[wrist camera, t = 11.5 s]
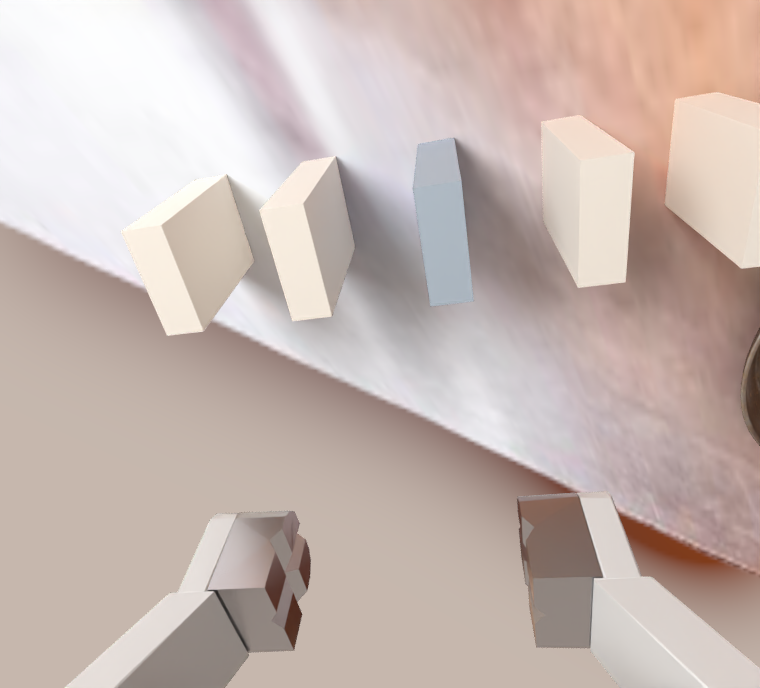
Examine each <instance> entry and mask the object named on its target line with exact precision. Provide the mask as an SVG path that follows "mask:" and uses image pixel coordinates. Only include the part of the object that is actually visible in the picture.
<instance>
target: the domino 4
mask: <svg viewBox="0 0 760 688" xmlns="http://www.w3.org/2000/svg"><path fill="white" fill-rule="evenodd" d="M541 136H542V189H543V222H544V224H545V226H546V228H547V230H548V232H549V234H550V236H551V237H552V239H553V241H554V243H555V245H556V247H557V249H558V251H559V253H560V254H561V256H562V258H563V260H564V262H565V264H566V266H567V268H568V270H569V271H570V273H571V275H572V277H573V279H574V281H575V283H576V285H577V287H578V288H581V287H590V286H598V285H607V284H615V283H624V282H626V270H627V255H628V240H629V226H630V211H631V196H632V181H633V167H634V152H633V151H632V150H630V149H629V148H628V147H626V146H625V145H623V144H622V143H620V142H619V141H617V140H616V139H614V138H613V137H612V136H610V135H609V134H607V133H606V132H604V131H603V130H601V129H600V128H598V127H597V126H596V125H594V124H593V123H591V122H590V121H588V120H587V119H585V118H584V117H582V116H581V115H577V116H571V117H565V118H560V119H554V120H548V121H542V122H541Z"/></svg>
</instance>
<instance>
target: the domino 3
mask: <svg viewBox="0 0 760 688" xmlns="http://www.w3.org/2000/svg"><path fill="white" fill-rule="evenodd" d="M413 193H414V200H415V207H416V213H417V220H418V227H419V233H420V240H421V247H422V254H423V260H424V267H425V274H426V280H427V287H428V294H429V300H430V307H431V306H439V305H448V304H456V303H464V302H472V301H474V299H473V289H472V279H471V270H470V260H469V250H468V240H467V230H466V221H465V211H464V201H463V191H462V181H461V175H460V169H459V164H458V158H457V152H456V146H455V140H454V138H450V139H444V140H438V141H432V142H427V143H421V144H418V148H417V156H416V165H415V173H414V182H413Z"/></svg>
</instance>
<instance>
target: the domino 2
mask: <svg viewBox="0 0 760 688" xmlns="http://www.w3.org/2000/svg"><path fill="white" fill-rule="evenodd" d="M259 212H260V215H261V219H262V222H263V225H264V229H265V232H266V235H267V239H268V242H269V245H270V249H271V252H272V255H273V259H274V262H275V265H276V269H277V272H278V275H279V279H280V282H281V285H282V289H283V292H284V295H285V299H286V302H287V305H288V309H289V312H290V315H291V319H292V321H299V320H307V319H316V318H324V317H332V315H333V312H334V309H335V306H336V303H337V300H338V297H339V294H340V291H341V288H342V285H343V282H344V279H345V276H346V273H347V270H348V267H349V265H350V262H351V259H352V256H353V253H354V250H355V244H354V239H353V234H352V230H351V225H350V220H349V216H348V211H347V206H346V202H345V197H344V192H343V187H342V183H341V178H340V173H339V169H338V164H337V159H336V156H333V157H327V158H321V159H315V160H309V161H303V162H301V164H300V165H299V166H298V167H297V168H296V169H295V170H294V172H293V173H292V174H291V175H290V176H289V177H288V178H287V179H286V181H285V182H284V183H283V184H282V185H281V186H280V187H279V188H278V190H277V191H276V192H275V193H274V194H273V195H272V196H271V197H270V199H269V200H268V201H267V202H266V203H265V204H264V205H263V207H262V208H261V209H260V210H259Z"/></svg>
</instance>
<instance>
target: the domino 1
mask: <svg viewBox="0 0 760 688" xmlns="http://www.w3.org/2000/svg"><path fill="white" fill-rule="evenodd" d="M121 233H122V235H123V237H124V240H125V242H126V244H127V246H128V249H129V251H130V253H131V255H132V258H133V260H134V262H135V264H136V267H137V269H138V271H139V273H140V276H141V278H142V280H143V282H144V285H145V287H146V289H147V291H148V294H149V296H150V298H151V300H152V303H153V305H154V307H155V309H156V312H157V314H158V316H159V318H160V321H161V323H162V325H163V327H164V329H165V332H166V334H167V336H168V335H177V334H185V333H194V332H202V331H204V330H205V328H206V327H207V326H208V325H209V323H210V322H211V321H212V319H213V318H214V316H215V315H216V314H217V312H218V311H219V309H220V308H221V307H222V305H223V304H224V303H225V301H226V300H227V298H228V297H229V296H230V294H231V293H232V291H233V290H234V289H235V287H236V286H237V285H238V283H239V282H240V280H241V279H242V278H243V276H244V275H245V273H246V272H247V271H248V269H249V268H250V267H251V265H252V264H253V262H254V259H253V256H252V252H251V249H250V246H249V243H248V240H247V237H246V234H245V231H244V227H243V224H242V221H241V218H240V215H239V212H238V209H237V206H236V202H235V199H234V196H233V193H232V190H231V187H230V184H229V181H228V177H227V174H226V175H220V176H214V177H208V178H202V179H196V180H194V181H192V182H191V183H190V184H188V185H187V186H185V187H184V188H182V189H181V190H180V191H178V192H177V193H175V194H174V195H172V196H171V197H169V198H168V199H167V200H165V201H164V202H162V203H161V204H159V205H158V206H157V207H155V208H154V209H152V210H151V211H149V212H148V213H147V214H145V215H144V216H142V217H141V218H139V219H138V220H136V221H135V222H134V223H132V224H131V225H129V226H128V227H126V228H125V229H124V230H122V231H121Z"/></svg>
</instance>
